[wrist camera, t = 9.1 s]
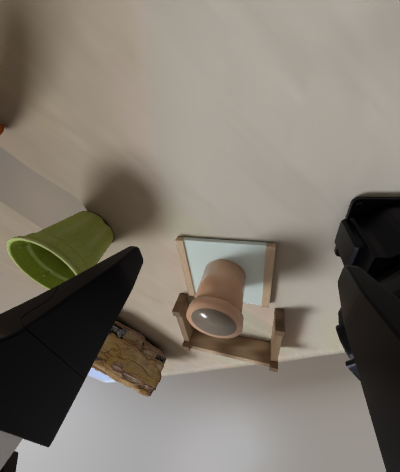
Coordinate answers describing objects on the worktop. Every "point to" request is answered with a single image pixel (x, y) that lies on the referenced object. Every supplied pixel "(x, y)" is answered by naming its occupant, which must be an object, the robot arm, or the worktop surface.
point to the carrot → (1, 129)
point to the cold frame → (232, 339)
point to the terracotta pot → (219, 300)
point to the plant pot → (61, 249)
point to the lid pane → (240, 252)
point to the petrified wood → (130, 359)
